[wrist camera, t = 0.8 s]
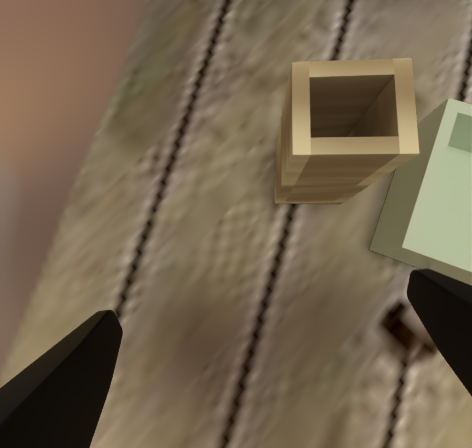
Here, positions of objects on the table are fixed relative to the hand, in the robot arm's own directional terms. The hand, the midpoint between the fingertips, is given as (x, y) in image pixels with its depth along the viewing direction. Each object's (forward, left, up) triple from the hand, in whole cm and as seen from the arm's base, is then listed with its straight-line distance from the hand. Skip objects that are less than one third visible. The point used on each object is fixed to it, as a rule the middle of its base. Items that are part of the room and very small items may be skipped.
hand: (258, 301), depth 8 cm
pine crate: (+3, -9, -13) cm, 16 cm away
